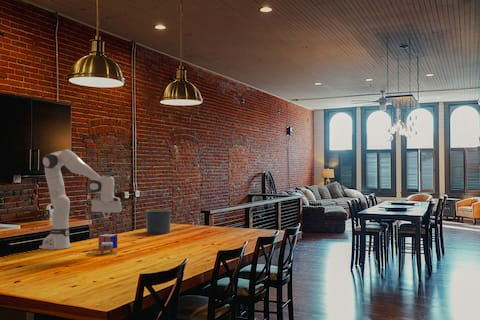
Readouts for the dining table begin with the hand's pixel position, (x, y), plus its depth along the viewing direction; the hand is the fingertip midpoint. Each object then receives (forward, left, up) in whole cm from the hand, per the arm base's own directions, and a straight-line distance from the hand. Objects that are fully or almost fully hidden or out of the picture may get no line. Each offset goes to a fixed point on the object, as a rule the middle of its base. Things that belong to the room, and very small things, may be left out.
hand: (106, 218), depth 308 cm
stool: (+2, -3, -24) cm, 24 cm away
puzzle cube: (-9, +15, -24) cm, 30 cm away
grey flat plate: (-1, -4, -24) cm, 24 cm away
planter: (-13, +98, -24) cm, 101 cm away
